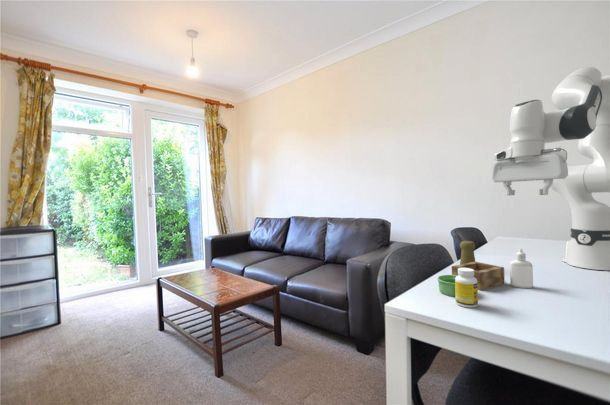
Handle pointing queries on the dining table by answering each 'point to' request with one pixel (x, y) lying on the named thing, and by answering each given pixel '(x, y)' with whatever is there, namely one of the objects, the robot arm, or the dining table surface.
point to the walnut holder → (483, 274)
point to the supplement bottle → (466, 288)
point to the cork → (467, 252)
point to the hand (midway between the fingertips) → (526, 195)
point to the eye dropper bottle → (521, 271)
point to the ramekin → (447, 284)
